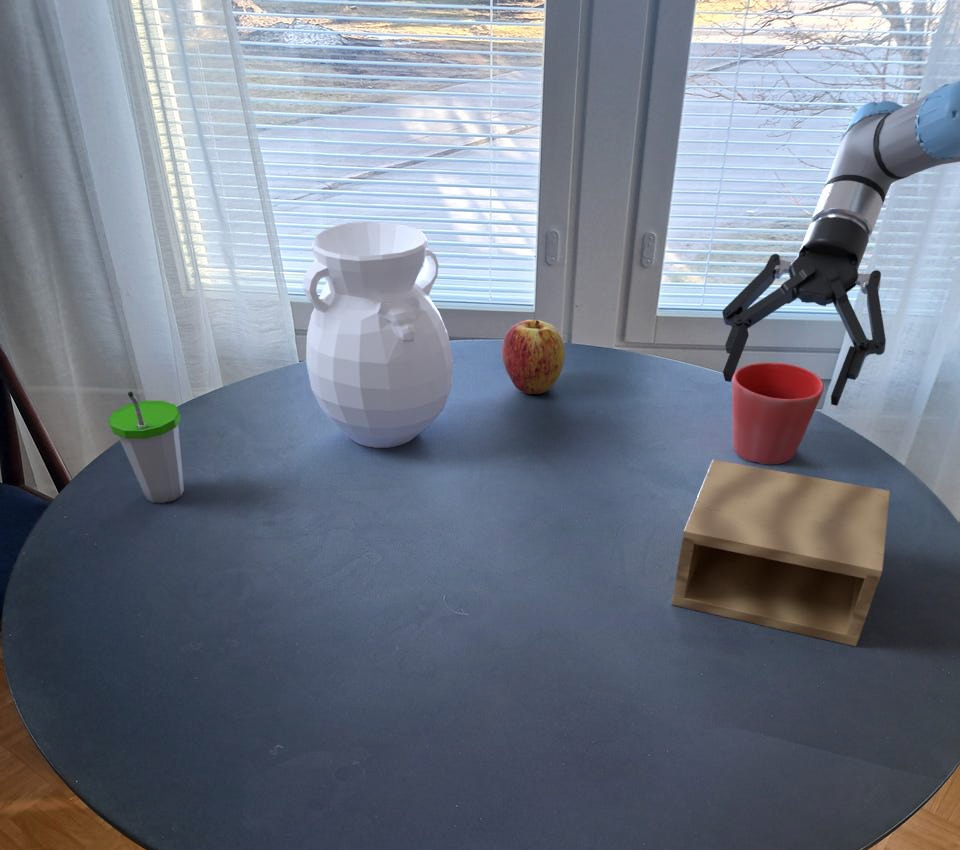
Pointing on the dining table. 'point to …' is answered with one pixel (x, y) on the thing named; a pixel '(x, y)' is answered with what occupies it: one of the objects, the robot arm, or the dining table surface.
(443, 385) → the white handled vase
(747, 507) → the cubby shelf
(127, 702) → the dining table surface
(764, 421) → the flower pot
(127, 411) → the cup
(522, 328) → the apple
